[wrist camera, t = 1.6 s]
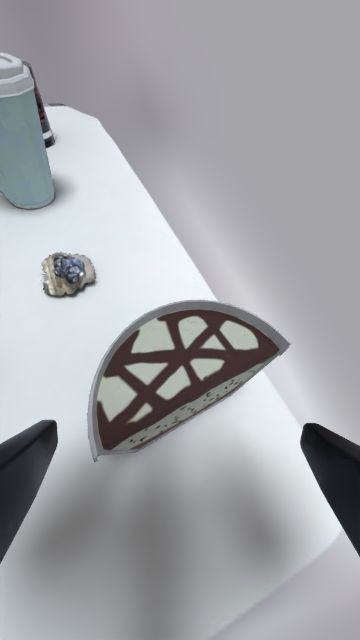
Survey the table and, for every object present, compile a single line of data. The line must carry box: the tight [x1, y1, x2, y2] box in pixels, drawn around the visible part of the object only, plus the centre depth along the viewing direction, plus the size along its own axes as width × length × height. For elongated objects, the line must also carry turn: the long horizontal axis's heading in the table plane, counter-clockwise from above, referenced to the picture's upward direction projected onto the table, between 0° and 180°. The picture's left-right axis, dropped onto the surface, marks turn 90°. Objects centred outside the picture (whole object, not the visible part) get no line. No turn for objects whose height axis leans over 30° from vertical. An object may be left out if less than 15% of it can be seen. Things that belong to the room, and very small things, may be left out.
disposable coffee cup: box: [0, 52, 55, 209], centre depth 28 cm, size 11×11×15 cm
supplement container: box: [22, 61, 54, 147], centre depth 40 cm, size 7×7×10 cm
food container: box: [87, 300, 291, 462], centre depth 16 cm, size 12×6×10 cm, turn 119°
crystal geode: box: [40, 252, 96, 296], centre depth 26 cm, size 7×8×2 cm
